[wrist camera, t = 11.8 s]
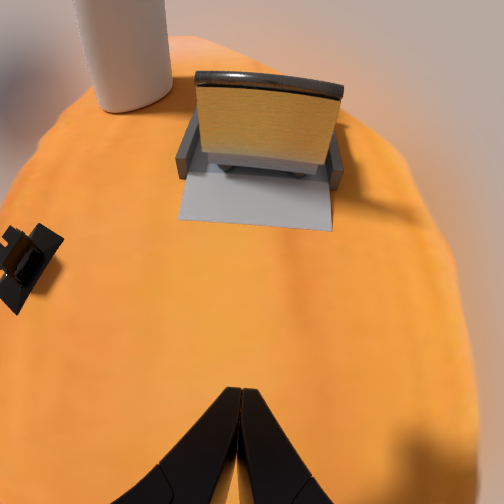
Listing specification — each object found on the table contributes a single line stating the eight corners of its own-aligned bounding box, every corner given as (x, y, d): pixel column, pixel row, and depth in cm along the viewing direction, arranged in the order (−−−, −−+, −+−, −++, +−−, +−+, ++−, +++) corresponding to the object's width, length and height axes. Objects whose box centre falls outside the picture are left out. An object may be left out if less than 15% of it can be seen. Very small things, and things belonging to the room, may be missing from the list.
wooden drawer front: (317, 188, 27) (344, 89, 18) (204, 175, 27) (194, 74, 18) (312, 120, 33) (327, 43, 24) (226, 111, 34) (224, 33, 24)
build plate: (46, 213, 27) (28, 186, 23) (83, 233, 25) (64, 204, 21) (-12, 300, 21) (-38, 280, 17) (19, 335, 19) (-12, 318, 15)
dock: (339, 238, 26) (355, 204, 22) (169, 225, 26) (157, 189, 22) (321, 125, 36) (328, 95, 32) (204, 116, 36) (201, 85, 32)
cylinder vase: (117, 82, 41) (96, -36, 20) (181, 75, 41) (172, -55, 20) (87, 119, 35) (49, -24, 13) (161, 111, 35) (140, -56, 14)
